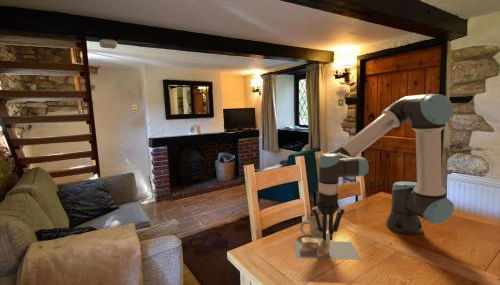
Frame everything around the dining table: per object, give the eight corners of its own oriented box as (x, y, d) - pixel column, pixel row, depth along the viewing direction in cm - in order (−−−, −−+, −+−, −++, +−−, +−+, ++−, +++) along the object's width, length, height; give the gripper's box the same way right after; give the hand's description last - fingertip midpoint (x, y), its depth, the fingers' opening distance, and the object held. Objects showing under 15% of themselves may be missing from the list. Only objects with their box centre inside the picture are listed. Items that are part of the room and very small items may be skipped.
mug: (328, 245, 112) (329, 224, 111) (299, 243, 115) (299, 221, 113) (326, 236, 120) (327, 215, 119) (299, 233, 123) (299, 214, 121)
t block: (322, 243, 112) (323, 234, 111) (328, 256, 102) (328, 247, 101) (300, 242, 112) (300, 234, 112) (303, 255, 102) (303, 246, 102)
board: (351, 245, 112) (351, 241, 112) (361, 263, 99) (361, 259, 99) (293, 243, 114) (293, 240, 114) (296, 261, 101) (296, 257, 101)
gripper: (342, 189, 106) (340, 242, 110) (310, 189, 107) (309, 241, 111) (347, 195, 99) (345, 252, 102) (313, 195, 100) (312, 251, 103)
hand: (327, 246), depth 106 cm, fingers closed
